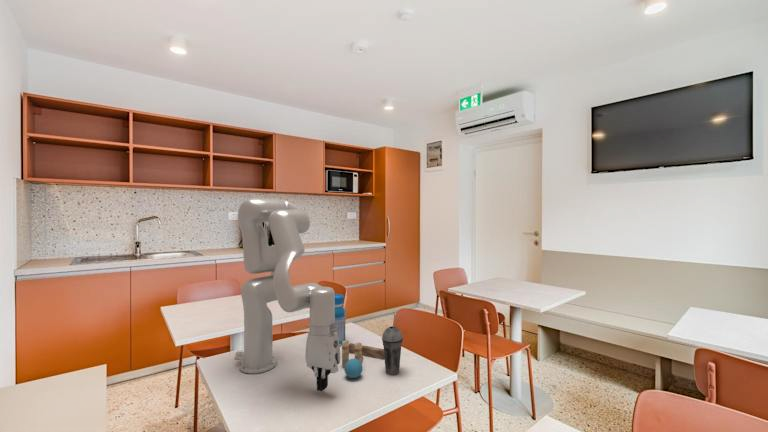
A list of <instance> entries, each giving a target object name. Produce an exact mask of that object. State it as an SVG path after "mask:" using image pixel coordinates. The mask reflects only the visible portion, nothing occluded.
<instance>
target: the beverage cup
mask: <svg viewBox="0 0 768 432" xmlns="http://www.w3.org/2000/svg"><path fill="white" fill-rule="evenodd" d="M395 322H396V313H393V322H392V326H388V327H386V328H385V330H384V331H383V333H382V337H381V340H382V346H383V349H384V358H385V360H384V368H385V374H386V375H388V376H396V375H398V374H399V372H400V366H401V352H402V347H403V346H402V345H403V338H404V337H403V334H402V332H401V330H400V329H399V328H398V327H396V326H395V324H396V323H395Z"/></svg>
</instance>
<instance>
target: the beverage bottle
mask: <svg viewBox="0 0 768 432" xmlns="http://www.w3.org/2000/svg"><path fill="white" fill-rule="evenodd" d="M344 301H345V296H344V295H343V294H341V293H340V294H339V293H335V326H336V327H338V331H337V332H336V333H337V335H338V339H339V346H342V341H345V340H346V320H347V315H346V308H345V306H344V303H345V302H344Z"/></svg>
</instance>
